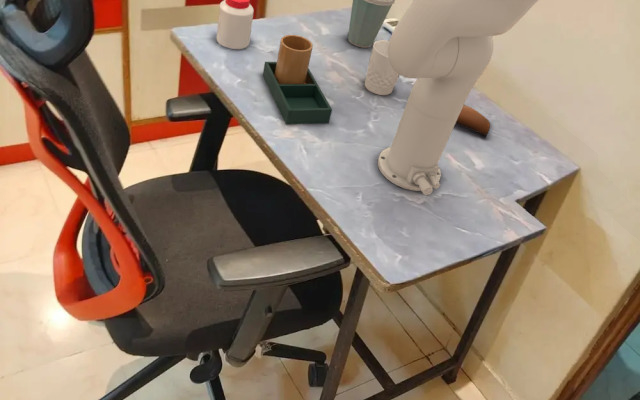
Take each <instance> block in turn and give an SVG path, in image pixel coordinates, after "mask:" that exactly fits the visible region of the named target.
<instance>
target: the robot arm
mask: <svg viewBox="0 0 640 400" xmlns="http://www.w3.org/2000/svg"><path fill="white" fill-rule="evenodd" d="M537 2H539V0H412V2H411V3H410V4H409V6H408V7H407V9H406V11H405V12H404V13H403V15H402V16H401V18H400V19H399V21H398V22H397V23H396V26H395V27H394V29H393V30H392V33H391V36H390V38H389V41H390V42H389V47H388V57H389V62H390V65H391V66H392V68H393V70H394V71H395V72H396V73H398V74H399V76H401V77H403V78H408V79H416V80H415V82H414V84H413V86H412V88H411V90H410V94H409V95H408V99H407V100H406V101H407V102H406V103H405V107H404V109H403V112H402V115H401V118H400V121H399V123H398V126H397V129H396V131H395V134H394V137H393V140H392V143H391V145H390V146H388V147H386V148H384V149H383V150H381V152H380V153H379V154H378V155H379V156H378V158H377V166H378V169H379V171H380V173H381V174H382V175H383V176H384V178H386V180H388V182H391V183H392V184H393V185H395V186H398V187H400V188H402V189H404V190H409V191H415V192H422V194H423V195H424V196H429V195H431V194H432V193H433V192H434V190H437V189H439V188H440V187H441V183H440V181H441V177H442V171H441V168H440V166H439V162H440V160H441V158H442V155H443V153H444V151H445V148H446V146H447V143H448V141H449V140H450V138H451V137H450V136H452V135H451V134H452V132H453V130H454V128H455V126H456V121H457V119H458V116H459V114H460V112H461V110H462V108H463V105H465V103H466V101H467V100H468V97H469V95H470V93H471V91H472V89H473V88H474V86H475V85H476V83H477V82H478V81H479V79H480V78H481V77H482V75H483V74H484V72H485V70H486V69H487V67H488V66H489V64H490V61H491V59H492V56H493V54H494V53H493V52H494V38H493V37H494V36H495V37H496V36H501V35H503V34H505V33H507V32H508V31H510V30H512V29H513V28H514V27H515V26H516V24H518V22H519V21H520V20H521V19H522V18H523V17H524V16H525V15H526V14H527V13H528V12H529V11H530V10H531V9H532V8H533V7H534V6H535V4H536V3H537Z"/></svg>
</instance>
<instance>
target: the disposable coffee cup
mask: <svg viewBox="0 0 640 400" xmlns="http://www.w3.org/2000/svg"><path fill="white" fill-rule="evenodd" d="M395 1H396V0H352V4H351V10H350V11H351V12H350V17H349V18H350V19H349V26H348V33H347V38H348V40H347V41H348V42H349V43H351V44H352V45H353V46H355V47H358V48H363V49H364V48H367V49H368V48H370V47H371V46H373V44H374V43H375V40H376V38H377V36H378V35H379V32H380V31H381V28H382V26H383V24H384V22H385V20H386V18H387V16H388V14H389V12H390V10H391V8H392V6H393V5H394V4H395Z"/></svg>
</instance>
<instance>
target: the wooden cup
mask: <svg viewBox="0 0 640 400" xmlns="http://www.w3.org/2000/svg"><path fill="white" fill-rule="evenodd" d="M313 46H314V45H313V42H312V41H311V40H309V39H308V38H306V37H305V36H302V35H298V34H287V35H284V36H282V37H281V38H280V42H279V47H278V53H277V60H276V62H277V64H276V70H275V78H276V80H277V82H278V84H305V80H306V75H307V71H308V68H309V65H310V60H311V57H312V52H313Z"/></svg>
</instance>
